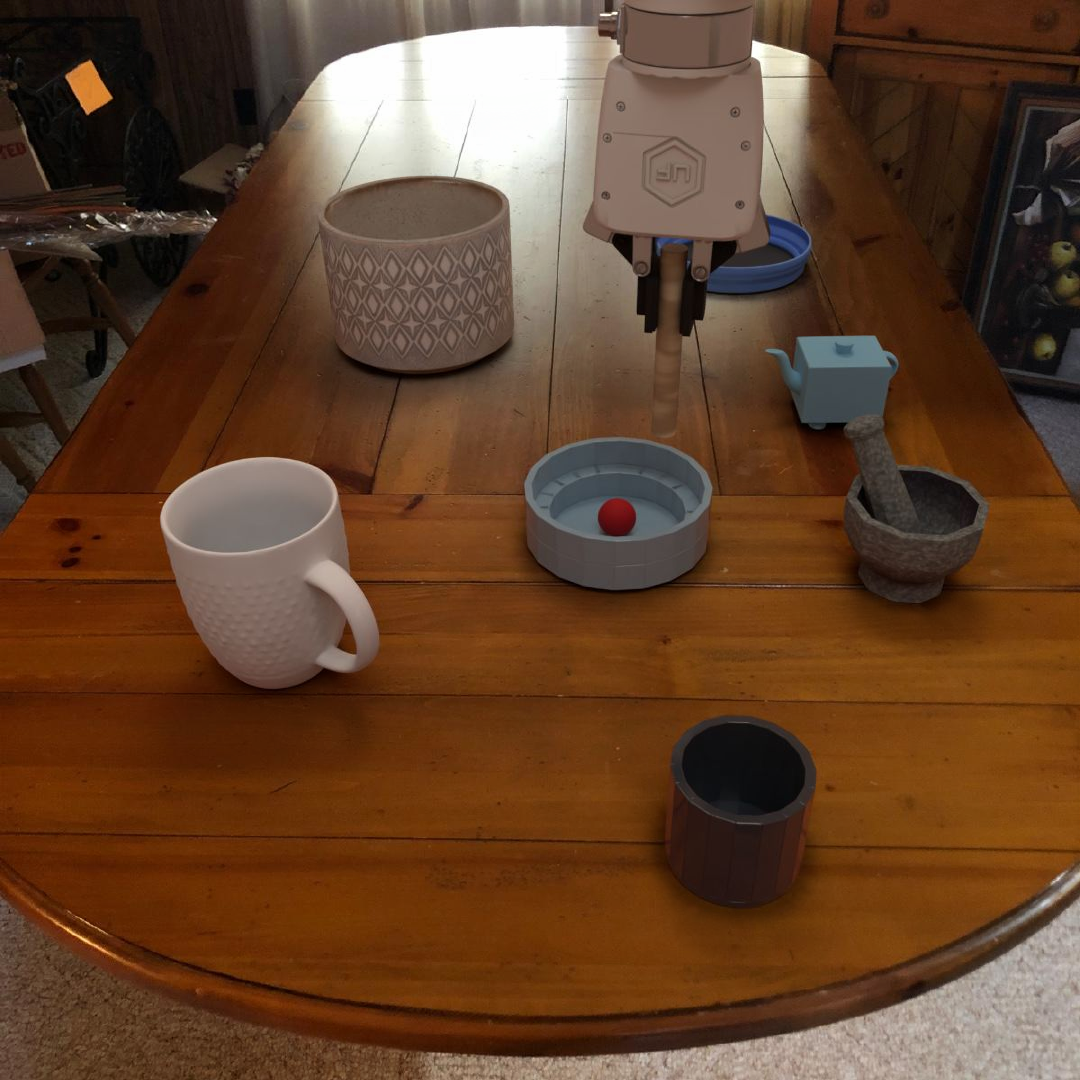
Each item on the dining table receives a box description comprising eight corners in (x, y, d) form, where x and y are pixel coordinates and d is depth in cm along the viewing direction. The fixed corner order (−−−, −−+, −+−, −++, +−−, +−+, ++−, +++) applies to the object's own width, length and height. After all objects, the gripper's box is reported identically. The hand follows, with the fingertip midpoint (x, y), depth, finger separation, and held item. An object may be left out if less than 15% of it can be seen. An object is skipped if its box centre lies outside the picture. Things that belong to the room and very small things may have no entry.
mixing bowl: (717, 499, 91) (721, 447, 88) (694, 607, 80) (698, 552, 77) (550, 479, 94) (549, 428, 91) (505, 581, 82) (503, 527, 80)
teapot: (762, 432, 99) (771, 357, 94) (753, 399, 104) (760, 326, 99) (896, 430, 99) (911, 355, 94) (880, 397, 103) (894, 324, 99)
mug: (437, 664, 75) (421, 508, 68) (324, 764, 68) (291, 603, 60) (285, 587, 82) (254, 438, 75) (168, 671, 75) (120, 515, 68)
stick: (677, 427, 80) (689, 243, 72) (674, 439, 79) (686, 254, 71) (653, 424, 81) (662, 241, 72) (649, 437, 79) (658, 251, 71)
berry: (638, 524, 87) (639, 493, 85) (632, 546, 85) (633, 514, 83) (601, 519, 88) (602, 488, 86) (594, 541, 85) (594, 510, 84)
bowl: (800, 238, 136) (804, 210, 134) (815, 299, 121) (819, 269, 119) (654, 236, 137) (655, 208, 135) (652, 296, 123) (653, 266, 121)
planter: (374, 400, 105) (355, 257, 97) (313, 327, 119) (292, 195, 110) (545, 356, 112) (542, 218, 103) (470, 291, 125) (462, 164, 117)
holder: (804, 809, 64) (819, 726, 60) (796, 921, 58) (812, 837, 54) (675, 787, 66) (681, 704, 62) (655, 893, 60) (660, 809, 56)
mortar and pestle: (992, 575, 82) (1031, 437, 75) (931, 637, 76) (966, 494, 69) (858, 517, 88) (882, 384, 81) (793, 570, 83) (813, 433, 76)
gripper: (540, 46, 63) (544, 340, 74) (822, 58, 59) (783, 363, 70) (569, 18, 68) (569, 294, 79) (827, 27, 65) (790, 313, 76)
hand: (670, 324), depth 75 cm, fingers closed on stick, 1 cm apart
